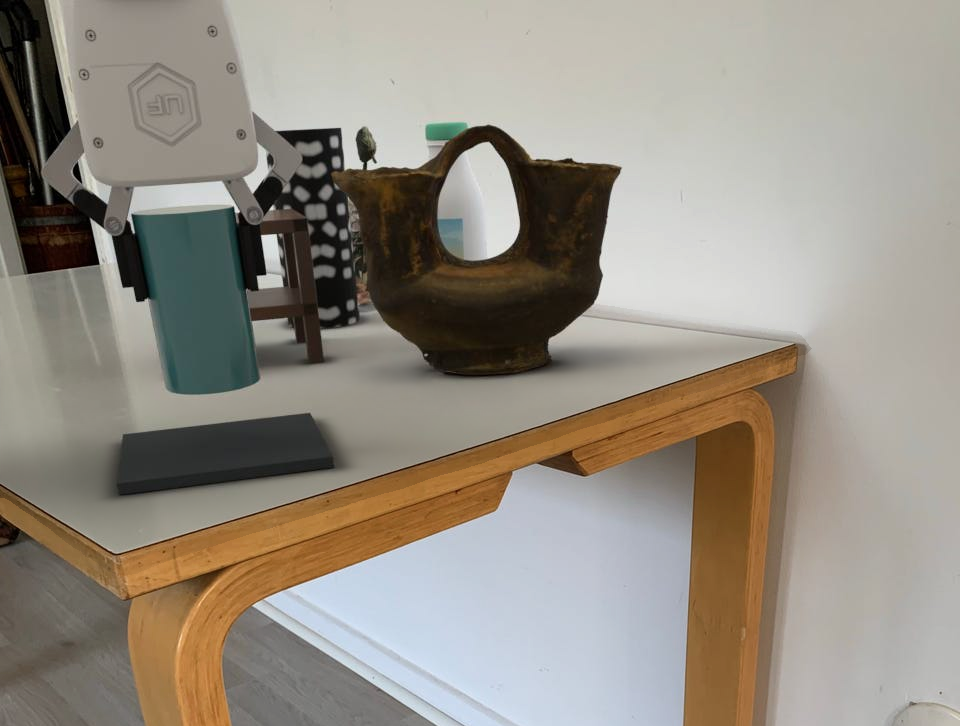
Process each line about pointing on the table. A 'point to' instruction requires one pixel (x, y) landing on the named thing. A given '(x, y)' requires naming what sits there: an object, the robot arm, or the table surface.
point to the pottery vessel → (490, 282)
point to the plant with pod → (366, 153)
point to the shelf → (291, 282)
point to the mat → (221, 453)
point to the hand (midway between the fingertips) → (197, 291)
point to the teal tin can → (197, 297)
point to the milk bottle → (458, 199)
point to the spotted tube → (322, 222)
